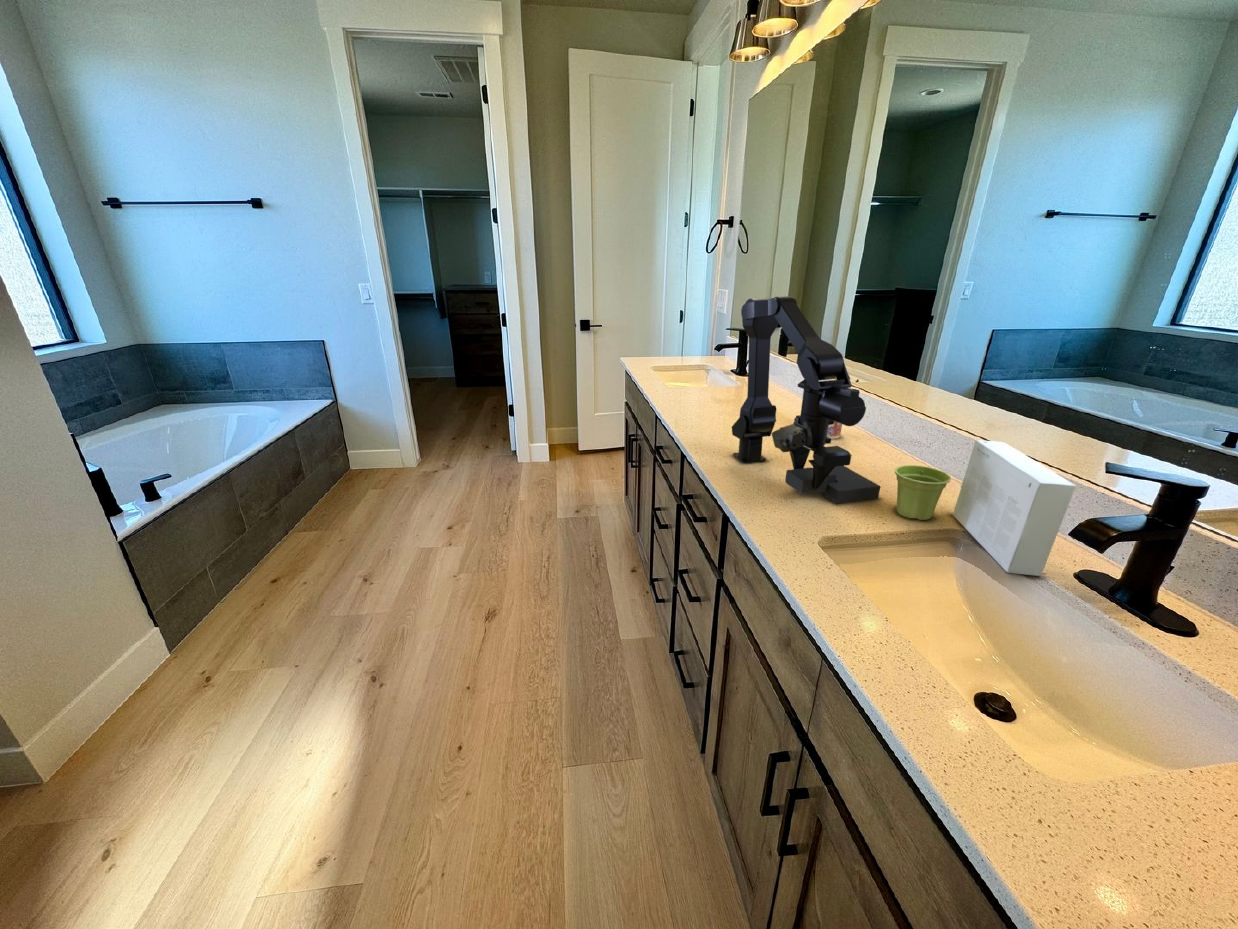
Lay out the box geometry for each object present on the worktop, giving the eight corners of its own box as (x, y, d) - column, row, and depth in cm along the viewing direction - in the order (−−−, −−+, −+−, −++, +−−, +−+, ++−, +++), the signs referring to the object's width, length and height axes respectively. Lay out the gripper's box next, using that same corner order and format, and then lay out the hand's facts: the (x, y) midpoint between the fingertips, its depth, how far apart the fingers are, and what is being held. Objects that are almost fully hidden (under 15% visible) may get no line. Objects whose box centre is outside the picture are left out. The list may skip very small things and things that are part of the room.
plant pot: (876, 508, 100) (884, 469, 97) (908, 500, 104) (917, 461, 101) (918, 528, 92) (928, 486, 89) (952, 518, 96) (962, 477, 93)
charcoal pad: (801, 480, 114) (803, 468, 113) (839, 476, 116) (841, 464, 115) (836, 504, 102) (838, 491, 101) (878, 499, 104) (880, 486, 103)
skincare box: (1046, 578, 77) (1078, 485, 71) (1006, 574, 78) (1036, 483, 72) (982, 516, 96) (1004, 439, 91) (951, 514, 97) (971, 438, 92)
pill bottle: (813, 435, 145) (818, 398, 141) (825, 431, 149) (830, 395, 145) (832, 440, 140) (838, 402, 136) (844, 436, 144) (850, 399, 140)
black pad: (785, 482, 109) (786, 469, 108) (820, 478, 111) (822, 466, 110) (801, 494, 104) (803, 481, 102) (839, 489, 105) (841, 476, 104)
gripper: (757, 404, 108) (751, 470, 114) (806, 429, 91) (796, 504, 97) (803, 401, 110) (795, 465, 116) (858, 424, 93) (846, 498, 99)
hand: (806, 482), depth 107 cm, fingers closed on black pad, 6 cm apart
